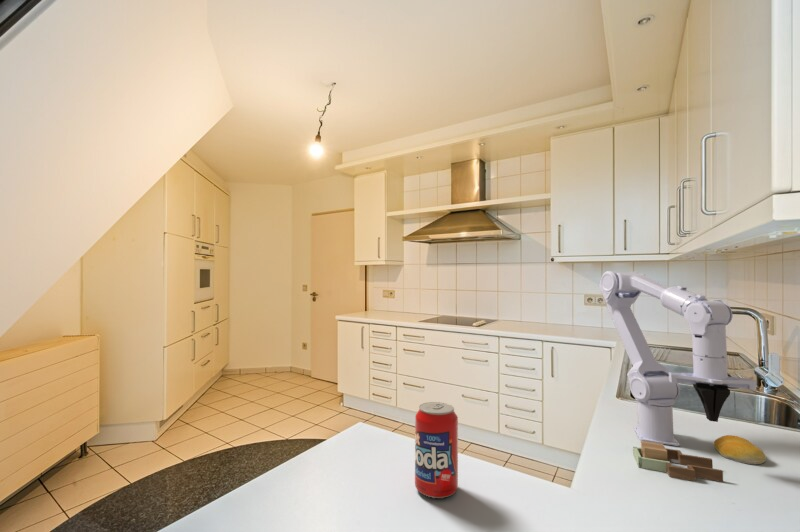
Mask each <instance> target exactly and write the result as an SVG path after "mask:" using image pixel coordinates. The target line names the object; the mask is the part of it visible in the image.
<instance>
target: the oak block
mask: <svg viewBox="0 0 800 532" xmlns="http://www.w3.org/2000/svg"><path fill="white" fill-rule="evenodd" d="M664 445H665V444H660V443H654V442H647V441H641V440H640V448H641V457H644V458H650V459H657V460H663V461H668V460H667V450H666V449H665V448H666V447H665V446H664Z"/></svg>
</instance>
